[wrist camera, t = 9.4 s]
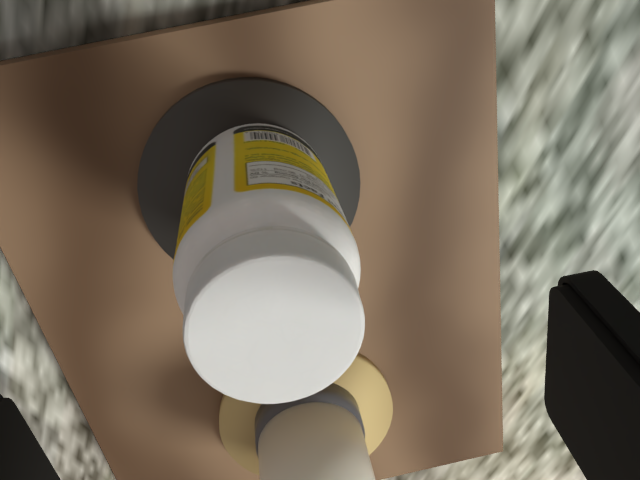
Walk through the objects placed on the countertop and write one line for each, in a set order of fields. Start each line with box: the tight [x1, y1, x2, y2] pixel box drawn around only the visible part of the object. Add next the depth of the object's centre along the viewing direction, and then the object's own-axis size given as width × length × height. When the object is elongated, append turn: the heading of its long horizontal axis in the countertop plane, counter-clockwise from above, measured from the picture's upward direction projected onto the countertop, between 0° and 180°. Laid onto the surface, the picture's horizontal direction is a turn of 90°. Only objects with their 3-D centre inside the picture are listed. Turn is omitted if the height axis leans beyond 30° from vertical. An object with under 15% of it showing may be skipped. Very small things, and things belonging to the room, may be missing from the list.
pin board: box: [0, 0, 503, 480], centre depth 23 cm, size 18×22×2 cm
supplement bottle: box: [172, 123, 365, 404], centre depth 16 cm, size 5×5×8 cm
